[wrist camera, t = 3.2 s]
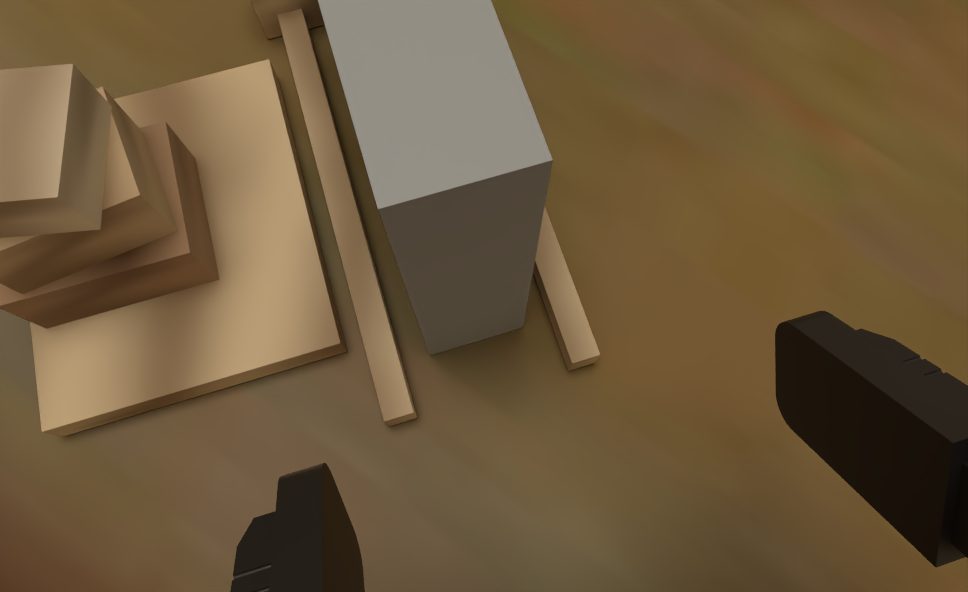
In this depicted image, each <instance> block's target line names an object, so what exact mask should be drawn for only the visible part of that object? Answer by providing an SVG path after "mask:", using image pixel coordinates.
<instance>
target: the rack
mask: <svg viewBox="0 0 968 592" xmlns="http://www.w3.org/2000/svg"><path fill="white" fill-rule="evenodd" d="M250 1H251V3H252V5H253V7H254V10H255V12H256V14H257V16H258V18H259V21H260V23H261V25H262V27H263V29H264V31H265V34H266V36H267V38H268V39H271V38H275V37H279V36H283V38H284V42H285V46H286V50H287V54H288V57H289V61H290V65H291V69H292V73H293V76H294V80H295V84H296V88H297V92H298V95H299V99H300V103H301V107H302V111H303V114H304V118H305V122H306V126H307V130H308V133H309V137H310V141H311V145H312V149H313V153H314V156H315V160H316V164H317V168H318V172H319V175H320V179H321V183H322V187H323V191H324V194H325V198H326V202H327V206H328V210H329V213H330V217H331V221H332V225H333V229H334V232H335V236H336V240H337V244H338V248H339V252H340V255H341V259H342V263H343V267H344V271H345V274H346V278H347V282H348V286H349V290H350V293H351V297H352V301H353V305H354V309H355V312H356V316H357V320H358V324H359V328H360V331H361V335H362V339H363V343H364V347H365V351H366V354H367V358H368V362H369V366H370V370H371V373H372V377H373V381H374V385H375V389H376V392H377V396H378V400H379V404H380V408H381V411H382V415H383V419H384V422H385V423H386V424H387V425H388V426H389V427H390V426H393V425H396V424H399V423H402V422H406V421H409V420H412V419H415V418H417V415H416V411H415V408H414V404H413V400H412V397H411V393H410V390H409V386H408V383H407V379H406V375H405V372H404V368H403V365H402V361H401V357H400V354H399V350H398V347H397V343H396V339H395V336H394V332H393V329H392V325H391V321H390V318H389V314H388V311H387V307H386V303H385V300H384V296H383V293H382V289H381V285H380V282H379V278H378V275H377V271H376V268H375V264H374V260H373V257H372V253H371V250H370V246H369V242H368V239H367V235H366V232H365V228H364V224H363V221H362V217H361V214H360V210H359V206H358V203H357V199H356V196H355V192H354V188H353V185H352V181H351V178H350V174H349V171H348V167H347V163H346V160H345V156H344V153H343V149H342V145H341V142H340V138H339V135H338V131H337V127H336V124H335V120H334V117H333V113H332V109H331V106H330V102H329V99H328V95H327V91H326V88H325V84H324V81H323V77H322V74H321V70H320V66H319V63H318V59H317V56H316V52H315V48H314V45H313V41H312V38H311V34H310V30H309V29H310V28H314V27H318V26H322V25H325V23H324V20H323V16H322V13H321V10H320V6H319V3H318V0H250ZM114 100H115V101H116V102H117V104H118V105H119V106H120V107H121V108H122V109H123V110H124V111H125V113H126V114H127V115H128V116H129V117H130V118H131V119H132V120H133V122H134V123H135V124H136V125H137V126H138V127H139V128H141V127H145V126H149V125H153V124H156V123H160V122H164V121H166V123H167V124H168V125H169V126H170V128H171V129H172V130H173V131H174V132H175V134H176V135H177V136H178V137H179V139H180V140H181V141H182V142H183V144H184V145H185V146H186V147H187V149H188V150H189V151H190V152H191V154H192V155H193V156H194V157H195V159H196V164H197V169H198V174H199V179H200V184H201V189H202V194H203V199H204V204H205V209H206V214H207V219H208V224H209V229H210V234H211V239H212V244H213V249H214V254H215V259H216V264H217V269H218V274H219V280H216V281H212V282H209V283H205V284H202V285H198V286H195V287H191V288H188V289H184V290H181V291H177V292H174V293H170V294H167V295H163V296H160V297H156V298H153V299H149V300H146V301H142V302H139V303H135V304H131V305H128V306H124V307H121V308H117V309H114V310H110V311H107V312H103V313H100V314H96V315H93V316H89V317H86V318H82V319H79V320H75V321H72V322H68V323H65V324H61V325H58V326H54V327H51V328H47V329H46V328H43V327H41V326H39V325H37V324H34V323H32V322H30V324H31V333H32V343H33V352H34V362H35V371H36V381H37V390H38V400H39V409H40V419H41V428H42V432H45V433H49V434H54V435H59V436H67V435H70V434H73V433H77V432H80V431H83V430H87V429H90V428H93V427H97V426H100V425H103V424H107V423H110V422H113V421H117V420H120V419H123V418H127V417H130V416H133V415H137V414H140V413H144V412H147V411H150V410H154V409H157V408H160V407H164V406H167V405H170V404H174V403H177V402H180V401H184V400H187V399H190V398H194V397H197V396H200V395H204V394H207V393H210V392H214V391H217V390H220V389H224V388H227V387H231V386H234V385H237V384H241V383H244V382H247V381H251V380H254V379H257V378H261V377H264V376H267V375H271V374H274V373H277V372H281V371H284V370H287V369H291V368H294V367H297V366H301V365H304V364H307V363H311V362H314V361H318V360H321V359H324V358H328V357H331V356H334V355H338V354H341V353H344V352H347V348H346V344H345V340H344V336H343V333H342V329H341V325H340V321H339V317H338V313H337V309H336V305H335V301H334V297H333V293H332V289H331V285H330V281H329V277H328V273H327V269H326V266H325V262H324V258H323V254H322V250H321V246H320V242H319V238H318V234H317V230H316V226H315V222H314V218H313V214H312V210H311V206H310V203H309V199H308V195H307V191H306V187H305V183H304V179H303V175H302V171H301V167H300V163H299V159H298V155H297V151H296V147H295V143H294V139H293V136H292V132H291V128H290V124H289V120H288V116H287V112H286V108H285V104H284V100H283V96H282V92H281V88H280V84H279V80H278V77H277V75H276V73H275V71H274V69H273V67H272V65H271V62H270V60H269V59H268V60H264V61H260V62H256V63H253V64H249V65H245V66H241V67H237V68H233V69H229V70H225V71H222V72H218V73H214V74H210V75H206V76H202V77H198V78H194V79H191V80H187V81H183V82H179V83H175V84H171V85H167V86H163V87H160V88H156V89H152V90H148V91H144V92H140V93H136V94H132V95H129V96H125V97H121V98H117V99H114ZM533 273H534V276H535V279H536V282H537V285H538V288H539V290H540V293H541V296H542V299H543V302H544V304H545V307H546V310H547V313H548V316H549V318H550V321H551V324H552V327H553V330H554V333H555V335H556V338H557V341H558V344H559V347H560V349H561V352H562V355H563V358H564V361H565V363H566V366H567V369H568V371H570V370H573V369H576V368H580V367H583V366H586V365H589V364H593V363H595V362H596V360H597V359H598V357H599V356H600V353H599V350H598V348H597V345H596V342H595V340H594V337H593V334H592V331H591V329H590V326H589V323H588V321H587V318H586V315H585V313H584V310H583V307H582V305H581V302H580V299H579V297H578V294H577V291H576V289H575V286H574V283H573V281H572V278H571V275H570V273H569V270H568V267H567V264H566V262H565V259H564V256H563V254H562V251H561V248H560V246H559V243H558V240H557V238H556V235H555V232H554V230H553V227H552V224H551V222H550V219H549V216H548V214H547V211H546V208H545V206H544V212H543V218H542V223H541V229H540V235H539V241H538V246H537V252H536V258H535V263H534V269H533Z"/></svg>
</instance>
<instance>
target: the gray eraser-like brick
mask: <svg viewBox="0 0 968 592" xmlns="http://www.w3.org/2000/svg"><path fill="white" fill-rule="evenodd" d="M318 3H319V6H320V10H321V13H322V16H323V20H324V23H325V27H326V30H327V34H328V37H329V41H330V44H331V48H332V51H333V55H334V58H335V62H336V65H337V69H338V72H339V76H340V79H341V82H342V86H343V89H344V93H345V96H346V100H347V103H348V107H349V110H350V114H351V117H352V121H353V124H354V128H355V131H356V135H357V138H358V142H359V145H360V148H361V152H362V155H363V159H364V162H365V166H366V169H367V173H368V176H369V180H370V183H371V187H372V190H373V194H374V197H375V201H376V204H377V208H378V211H379V214H380V216H381V219H382V222H383V225H384V228H385V231H386V233H387V236H388V239H389V242H390V245H391V248H392V250H393V253H394V256H395V259H396V262H397V265H398V267H399V270H400V273H401V276H402V279H403V282H404V284H405V287H406V290H407V293H408V296H409V299H410V301H411V304H412V307H413V310H414V313H415V316H416V319H417V321H418V324H419V327H420V330H421V333H422V336H423V338H424V341H425V344H426V347H427V350H428V353H429V355H433V354H437V353H440V352H443V351H447V350H450V349H453V348H456V347H460V346H463V345H466V344H470V343H473V342H476V341H480V340H483V339H486V338H489V337H493V336H496V335H499V334H503V333H506V332H509V331H513V330H516V329H519V328H523V326H524V320H525V314H526V309H527V303H528V297H529V292H530V286H531V280H532V275H533V269H534V263H535V258H536V252H537V246H538V241H539V235H540V229H541V223H542V218H543V212H544V206H545V201H546V195H547V189H548V184H549V178H550V172H551V167H552V161H553V160H552V157H551V154H550V152H549V149H548V147H547V144H546V142H545V139H544V136H543V134H542V131H541V129H540V126H539V123H538V121H537V118H536V116H535V113H534V110H533V108H532V105H531V103H530V100H529V97H528V95H527V92H526V90H525V87H524V85H523V82H522V79H521V77H520V74H519V72H518V69H517V66H516V64H515V61H514V59H513V56H512V53H511V51H510V48H509V46H508V43H507V41H506V38H505V35H504V33H503V30H502V28H501V25H500V22H499V20H498V17H497V15H496V12H495V9H494V7H493V4H492V2H491V0H318Z"/></svg>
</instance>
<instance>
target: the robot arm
mask: <svg viewBox="0 0 968 592" xmlns="http://www.w3.org/2000/svg"><path fill="white" fill-rule="evenodd" d="M775 358H776V399H777V403H778V407H779V410H780V412H781V414H782V416H783V418H784V420H785V421H786V423H787V424H788V426H789V427H790V428H791V429H792V430H793V431H794V432H795V433H796V434H797V435H798V436H799V437H800V438H801V439H802V440H803V441H804V442H805V443H806V444H807V445H808V446H809V447H810V448H812V449H813V450H814V451H815V452H816V453H817V454H818V455H819V456H820V457H821V458H822V459H823V460H824V461H825V462H826V463H827V464H828V465H829V466H830V467H831V468H832V469H833V470H834V471H836V472H837V473H838V474H839V475H840V476H841V477H842V478H843V479H844V480H845V481H846V482H847V483H848V484H849V485H850V486H851V487H852V488H853V489H854V490H855V491H856V492H857V493H859V494H860V495H861V496H862V497H863V498H864V499H865V500H866V501H867V502H868V503H869V504H870V505H871V506H872V507H873V508H874V509H875V510H876V511H877V512H878V513H879V514H880V515H881V516H883V517H884V518H885V519H886V520H887V521H888V522H889V523H890V524H891V525H892V526H893V527H894V528H895V529H896V530H897V531H898V532H899V533H900V534H901V535H902V536H903V537H904V538H906V539H907V540H908V541H909V542H910V543H911V544H912V545H913V546H914V547H915V548H916V549H917V550H918V551H919V552H920V553H921V554H922V555H923V556H924V557H925V558H926V559H927V560H928V561H930V562H931V563H932V564H933V565H934V566H935V567H938V566H941V565H944V564H947V563H950V562H953V561H956V560H958V559H961V558H964V557H967V558H968V386H967V385H966V384H964V383H963V382H961V381H959V380H958V379H956V378H955V377H953V376H951V375H950V374H948V373H947V372H946V373H942V371H941V369H940V368H939V367H937V366H936V365H934V364H932V363H931V362H929V361H928V360H926V359H923V360H922V359H921V358H920V355H918V354H916V353H915V352H913V351H912V350H910V349H909V348H907V347H905V346H904V345H902V344H901V343H899V342H897V341H896V340H894V339H891V338H888V337H885V336H882V335H879V334H876V333H873V332H870V331H866V330H863V329H859V330H854V329H853V328H851V327H850V326H848V325H847V324H845V323H844V322H842V321H841V320H839V319H838V318H836V317H835V316H833V315H832V314H830V313H828V312H826V311H818V312H815V313H812V314H808V315H805V316H802V317H798V318H795V319H792V320H788V321H785V322H782V323H780V324H779V325H778V326H777V329H776V333H775ZM233 576H234V580H233V581H232V585H231V592H365V590H364V577H363V565H362V559H361V553H360V549H359V545H358V541H357V537H356V534H355V531H354V529H353V526H352V523H351V521H350V518H349V516H348V513H347V511H346V508H345V506H344V503H343V501H342V498H341V496H340V493H339V491H338V488H337V486H336V483H335V481H334V478H333V476H332V473H331V471H330V469H329V467H328V466H327V464H326V463H323V464H320V465H316V466H313V467H310V468H307V469H303V470H300V471H297V472H293V473H290V474H287V475H284V476H281V477H280V478H279V481H278V490H277V502H276V511H275V512H272V513H269V514H265V515H262V516H259V517H256V518H254V519H253V520H252V522H251V524H250V526H249V527H248V529H247V531H246V532H245V534H244V536H243V537H242V539H241V541H240V543H239V544H238V546H237V551H236V558H235V565H234V572H233Z"/></svg>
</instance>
